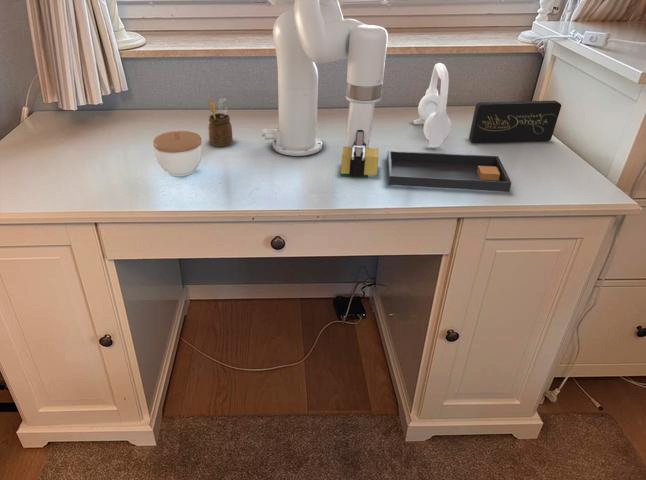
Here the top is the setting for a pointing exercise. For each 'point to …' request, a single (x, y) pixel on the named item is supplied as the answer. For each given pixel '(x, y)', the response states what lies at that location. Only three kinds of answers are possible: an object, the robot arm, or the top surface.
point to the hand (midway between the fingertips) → (357, 166)
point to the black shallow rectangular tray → (444, 171)
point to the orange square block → (488, 173)
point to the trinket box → (178, 152)
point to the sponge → (370, 161)
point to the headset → (435, 108)
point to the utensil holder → (219, 127)
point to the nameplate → (514, 121)
